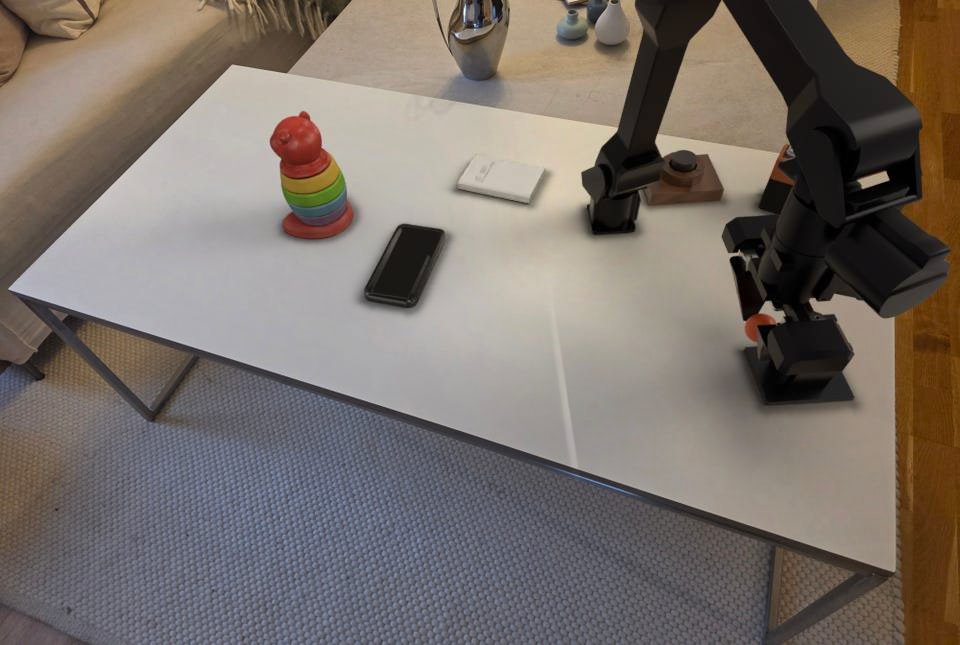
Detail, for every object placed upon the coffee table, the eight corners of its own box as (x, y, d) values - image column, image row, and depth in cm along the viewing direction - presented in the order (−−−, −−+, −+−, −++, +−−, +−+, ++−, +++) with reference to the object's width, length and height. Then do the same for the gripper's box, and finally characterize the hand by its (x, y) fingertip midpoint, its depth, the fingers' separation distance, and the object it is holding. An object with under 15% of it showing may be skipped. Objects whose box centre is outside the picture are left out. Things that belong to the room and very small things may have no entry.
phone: (361, 294, 82) (399, 222, 91) (363, 299, 83) (400, 227, 92) (414, 303, 80) (447, 229, 89) (415, 308, 81) (448, 235, 90)
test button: (673, 174, 90) (675, 165, 89) (668, 160, 92) (670, 150, 91) (697, 172, 90) (699, 163, 89) (691, 158, 92) (693, 148, 91)
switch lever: (743, 345, 63) (764, 328, 60) (734, 322, 65) (754, 304, 62) (820, 364, 66) (844, 348, 64) (810, 341, 68) (832, 325, 66)
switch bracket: (763, 408, 68) (790, 366, 62) (742, 352, 73) (764, 307, 67) (850, 402, 68) (887, 359, 61) (823, 347, 73) (854, 301, 66)
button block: (649, 205, 91) (653, 185, 88) (637, 169, 97) (641, 149, 94) (720, 200, 91) (727, 179, 88) (704, 165, 97) (710, 144, 93)
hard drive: (529, 205, 93) (457, 189, 97) (545, 174, 98) (476, 160, 101) (529, 197, 92) (457, 181, 95) (545, 166, 96) (476, 152, 100)
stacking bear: (320, 190, 99) (286, 92, 85) (369, 206, 95) (342, 107, 81) (278, 230, 93) (234, 133, 79) (328, 249, 90) (292, 151, 76)
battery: (803, 222, 87) (831, 167, 79) (756, 208, 89) (778, 153, 82) (811, 205, 89) (838, 149, 81) (765, 192, 92) (787, 136, 84)
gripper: (957, 309, 46) (867, 408, 58) (855, 163, 58) (797, 272, 70) (814, 318, 47) (754, 415, 59) (741, 171, 58) (703, 278, 70)
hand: (755, 338), depth 64 cm, fingers open, 5 cm apart
